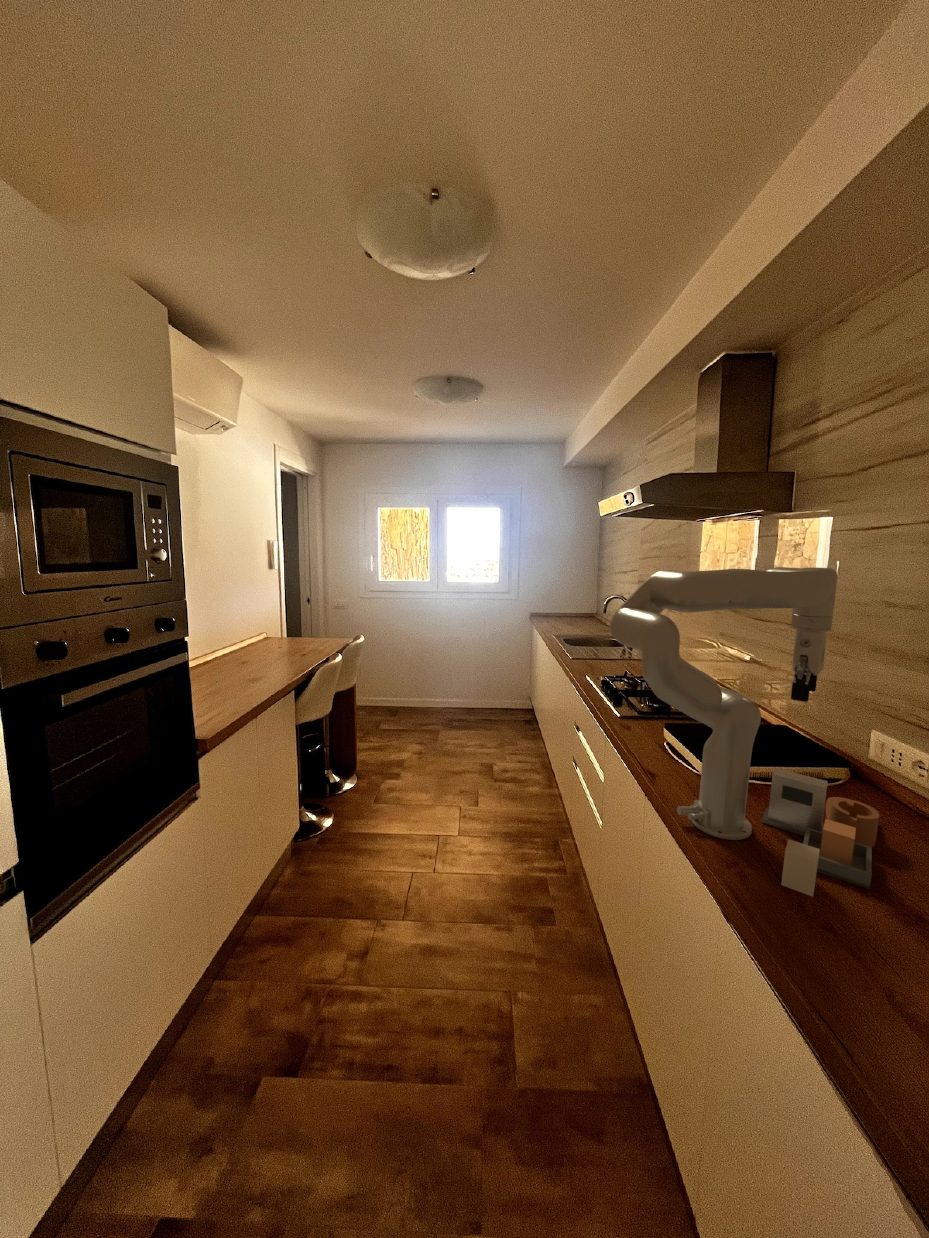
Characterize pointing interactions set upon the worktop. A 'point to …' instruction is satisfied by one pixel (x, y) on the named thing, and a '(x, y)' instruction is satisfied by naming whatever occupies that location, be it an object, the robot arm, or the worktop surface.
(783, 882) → the cream block
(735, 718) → the robot arm
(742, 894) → the worktop surface
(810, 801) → the mounted unit
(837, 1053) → the worktop surface
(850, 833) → the terracotta block
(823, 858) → the tray
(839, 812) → the bracket
